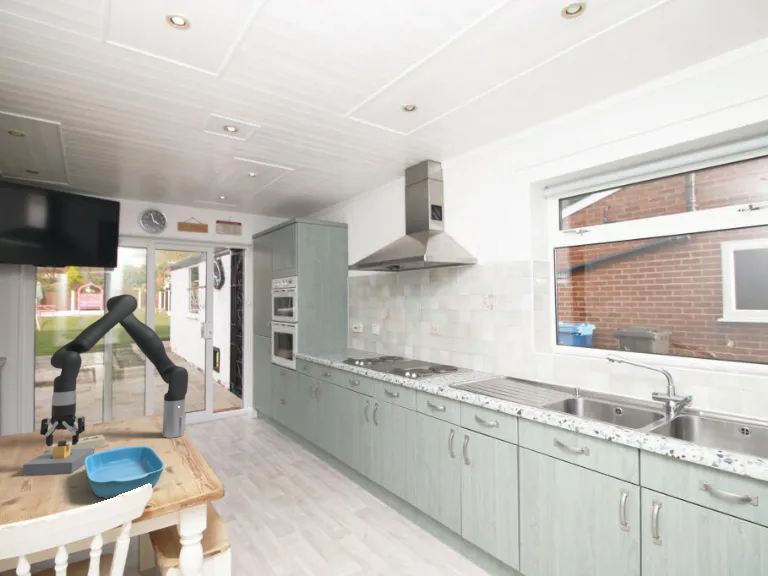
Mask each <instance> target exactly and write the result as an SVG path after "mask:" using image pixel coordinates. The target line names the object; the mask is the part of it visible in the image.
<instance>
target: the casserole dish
mask: <svg viewBox="0 0 768 576" xmlns="http://www.w3.org/2000/svg"><path fill="white" fill-rule="evenodd" d="M84 464H85V465H84V467H85V472H86V475H87V478H88V483H89V486H90V488H91V490H92V492H93V493H94V495H96V496H97V497H99V498H101V497H109V498H108V499H112V498H111V497H113V498H115V497H114V496H117V495H119V494H122V493H125V492H128V491H131V490H133V489H136V488H138V487H141V486H143V485H145V484H148V483H150V484H152V486H153V487H154V486H155V485H157V483H158V482H159V480H160V478H161V475H162V474H163V471H164V468H165V463H164V461H163V459H162V458H161V457H160V456H159V454H158V453H157V452H156V451H155V449H153V448H152V447H150V446H147V445H142V446H141V445H138V446H135V445H134V446H121V447H120V446H119V447H115V448H114V447H113V448H109V449H106V450H103V451H100V452H94V454H92V455H89V456H88V457H86V458H85V461H84Z"/></svg>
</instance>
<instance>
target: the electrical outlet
mask: <svg viewBox="0 0 768 576" xmlns="http://www.w3.org/2000/svg"><path fill="white" fill-rule="evenodd" d="M105 443H106V438H105V437H104V435H103V434H97V435H94V436H93V435H91V436H85V437H79V441H78V443H77V444H75V445H72V440H70V441H67V442H66V444H71V449H91V448H95V449H99V448H98V447H100V448H104V446H105V445H106V444H105ZM57 445H58V443H53V444H52V445H51V450H53V447H55V446H57Z"/></svg>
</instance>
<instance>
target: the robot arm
mask: <svg viewBox="0 0 768 576" xmlns="http://www.w3.org/2000/svg"><path fill="white" fill-rule="evenodd" d="M105 307H106V309H107V313H105V314H104V315H103V316H101V317H100V318H99V319H97V320H96V321H94V322H93V323H91V324H90V325H88V326H87V327H85V328H84V329H83V330H82V331H81V332H79V334H78V335H76V337H75V338H74V339H73V340H71V341H70V342H68V343H66V344H65V345H63V346H62V347H60V348H59V349H57V350H56V351H55V352H54V353H53V354H52V356H51V358H50V365H51V366H52V368H55V369H58V370H61V371H60V375H57V376H55V378H54V379H53V392H52V397H51V410H50V411H51V412H50V413H51V417H44V418H43V419H42V420H41V425H40V432H39V435H41V436H45V444H46V446H47V447H52V444H54V443H53V442H54V432H56V431H57V430H58V431H60V430H67V431H68V432H70V434H72V436H71V437H72V438H71V441H72V445H75V444H77V443H78V441H79V438H80V434H82V433H84V432H85V431H86V426H85V425H86V424H85V423H86V422H85V421H86V420H85V416H81V417H76V413H77V378H78V376H79V374H80V369H81V366H82V356H81V354H83V353H88V352H90V350H91V349H93V348H94V346H95V345H96V344H97V343H99V341H100V340H101V339H103V338H104V337H105V335H107V333H109V332H110V331H111V330H112V329H113V328H115V327H116V326H117V325H118V324H120V326H121V327H122V328H123V329H124V330H125V332H126V333H127V334H128V335H129V336H130V338H131V339H132V340H133V342H134V343H135V345H136V346H137V347H138V348H139V349H140V351H141V352H142V353H143V354H144V355H145V357H146V358H147V359H148V360H149V361H150V362H151V363H152V365H153V367H154V368H155V369H156V370H157V372H158V374H159V376H160V378H161V379H162V380H163V382H164V383H166V384H168V387H167V388H168V390H167V392H166V393H164V395H163V413H162V414H163V415H162V431H161V432H162V436H163V437H162V438H165V437H166V439H171V438H172V439H173V438H178V437H180V438H181V437H183V436H184V435H185V433H184V431H185V432H186V418H187V417H186V416H187V414H186V412H185V408H186V407H185V406H186V396H187V393H188V387H189V386H188V385H189V372H188V370H187V369H186V368H185V367H184V366H179V365H176V364H175V363H174V362H173V361H172V360H171V358H170V357H169V356H168V354H167V352H166V347H165V346H164V345H165V344H164V343H163V341H162V339H161V338H160V337H159V335H158V334H157V333H156V331H154V329H153V328H151V327H150V326H148V325H147V324H146V323H144V322H142V320H139V319H138V318H137V316H136V315H135V314H134V312H135V311H136V310H137V308H138V300H137V298H136V297H134V296H133V295H132V294H128V293H127V294H126V293H125V294H124V293H123V294H120V295H115V296H112V297H110V298H108V299H107V302H106V305H105ZM75 422H76V423H77V425H76V424H75ZM50 423H51V425H52V426H50V428H49V424H50Z"/></svg>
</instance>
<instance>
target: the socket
mask: <svg viewBox="0 0 768 576" xmlns="http://www.w3.org/2000/svg"><path fill="white" fill-rule="evenodd" d="M95 450H96V448H91V449H71V450H70V455H69V456H67V457H66V458H57V459H52V458H53V450H52V449H50V450H48V451H46V452H44V453H42V454H41V455H40V454H39V456H37V457H35V458H33V459H31V460H29V461H27V462H26V463H23V464H22V465H23V466H22V476H23V475H30V476H44V475H43V474H53V475H69V474H70V475H71V474H73V473H75V472H76V471H78V470H79V469H81V468H82V467H85V464H84V461H85V458H86V457H88V456H89V455H92V454H95V452H96V451H95ZM74 471H75V472H74Z"/></svg>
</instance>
